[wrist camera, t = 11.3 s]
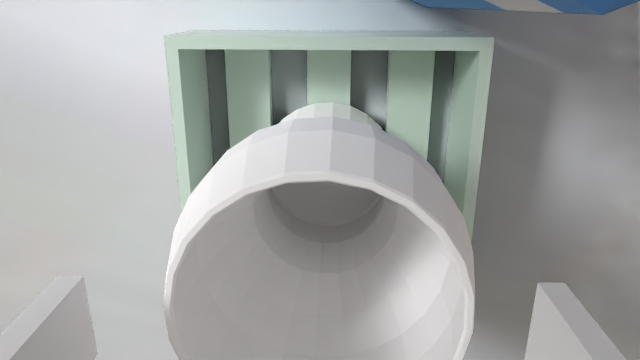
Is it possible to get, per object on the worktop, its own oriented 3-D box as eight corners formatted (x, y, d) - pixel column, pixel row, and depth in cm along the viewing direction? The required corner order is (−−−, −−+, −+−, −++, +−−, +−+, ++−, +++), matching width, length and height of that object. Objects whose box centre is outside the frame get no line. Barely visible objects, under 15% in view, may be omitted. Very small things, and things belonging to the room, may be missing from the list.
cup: (447, 208, 30) (543, 390, 16) (288, 274, 32) (248, 490, 18) (374, 42, 27) (412, 84, 13) (204, 125, 29) (74, 243, 15)
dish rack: (193, 30, 28) (164, 35, 23) (468, 31, 28) (495, 37, 23) (211, 271, 33) (190, 315, 28) (444, 275, 33) (462, 321, 28)
